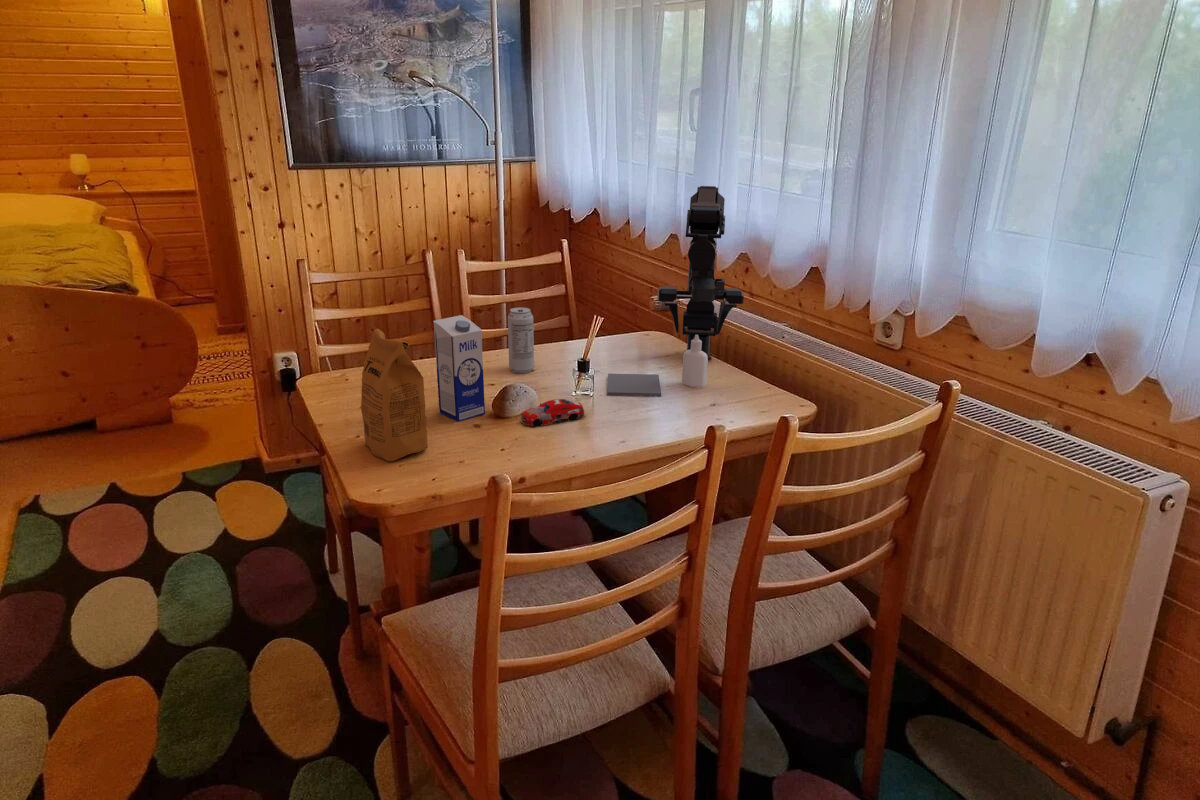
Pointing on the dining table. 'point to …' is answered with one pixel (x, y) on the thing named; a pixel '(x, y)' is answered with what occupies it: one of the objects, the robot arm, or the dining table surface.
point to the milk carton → (459, 368)
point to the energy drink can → (521, 340)
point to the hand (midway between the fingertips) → (697, 333)
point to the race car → (553, 412)
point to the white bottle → (695, 365)
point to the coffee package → (392, 400)
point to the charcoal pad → (633, 385)
